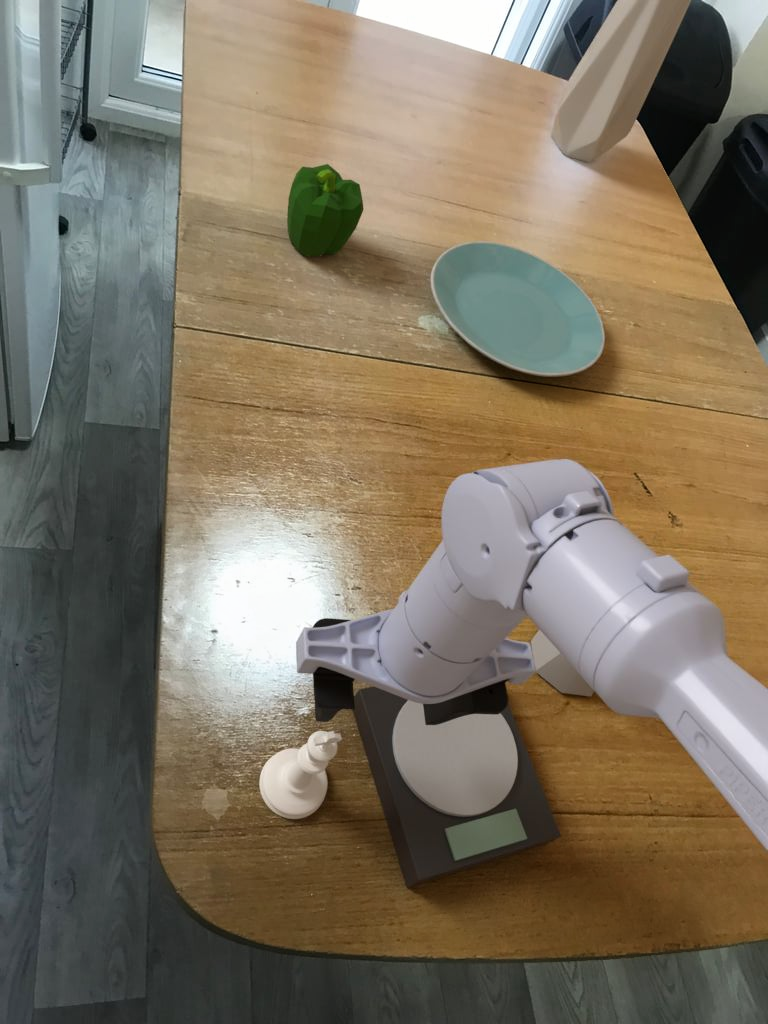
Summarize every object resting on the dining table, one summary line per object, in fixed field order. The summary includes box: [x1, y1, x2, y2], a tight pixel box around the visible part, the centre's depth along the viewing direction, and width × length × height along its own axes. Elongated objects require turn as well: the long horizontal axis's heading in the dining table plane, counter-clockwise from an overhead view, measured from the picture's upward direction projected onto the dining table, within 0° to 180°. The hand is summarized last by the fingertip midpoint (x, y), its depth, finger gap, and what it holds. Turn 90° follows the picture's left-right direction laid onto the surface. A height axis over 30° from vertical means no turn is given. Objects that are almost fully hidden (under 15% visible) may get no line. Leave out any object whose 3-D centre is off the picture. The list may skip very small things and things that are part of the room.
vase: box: [550, 0, 692, 164], centre depth 118 cm, size 12×12×33 cm
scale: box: [351, 686, 562, 889], centre depth 64 cm, size 14×12×3 cm
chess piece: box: [258, 730, 343, 820], centre depth 56 cm, size 5×5×10 cm
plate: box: [429, 240, 606, 378], centre depth 99 cm, size 22×22×3 cm
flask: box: [530, 628, 595, 697], centre depth 71 cm, size 7×7×10 cm
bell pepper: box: [286, 163, 364, 258], centre depth 92 cm, size 8×8×10 cm
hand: (375, 709), depth 56 cm, fingers open, 7 cm apart
